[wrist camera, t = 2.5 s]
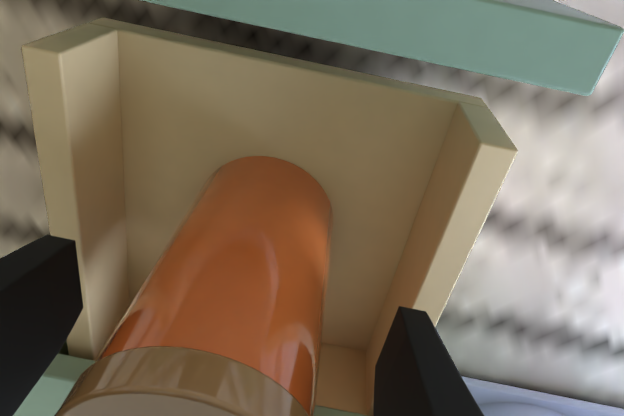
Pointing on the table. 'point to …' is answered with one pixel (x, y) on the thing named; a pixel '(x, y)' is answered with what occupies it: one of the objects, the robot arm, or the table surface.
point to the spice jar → (225, 306)
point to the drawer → (295, 147)
